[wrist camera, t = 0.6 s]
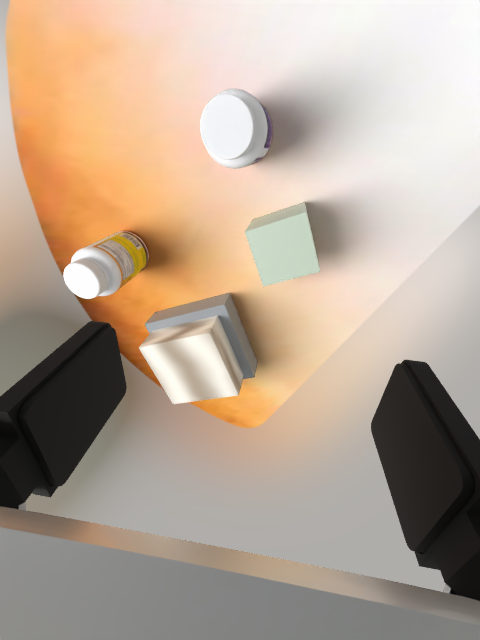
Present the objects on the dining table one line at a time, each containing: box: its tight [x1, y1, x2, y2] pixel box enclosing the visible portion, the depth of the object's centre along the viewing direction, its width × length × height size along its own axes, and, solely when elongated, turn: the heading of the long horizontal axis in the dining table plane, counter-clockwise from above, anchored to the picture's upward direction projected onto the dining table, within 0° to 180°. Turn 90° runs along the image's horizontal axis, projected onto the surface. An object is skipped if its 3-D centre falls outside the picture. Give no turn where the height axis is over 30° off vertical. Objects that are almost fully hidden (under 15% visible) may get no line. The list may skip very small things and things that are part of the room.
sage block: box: [245, 202, 320, 286], centre depth 31 cm, size 6×6×6 cm
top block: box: [139, 316, 243, 404], centre depth 38 cm, size 10×10×4 cm
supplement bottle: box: [64, 231, 149, 299], centre depth 33 cm, size 6×6×10 cm
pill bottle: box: [200, 89, 273, 168], centre depth 25 cm, size 5×5×10 cm
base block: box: [145, 293, 257, 379], centre depth 41 cm, size 12×12×4 cm
